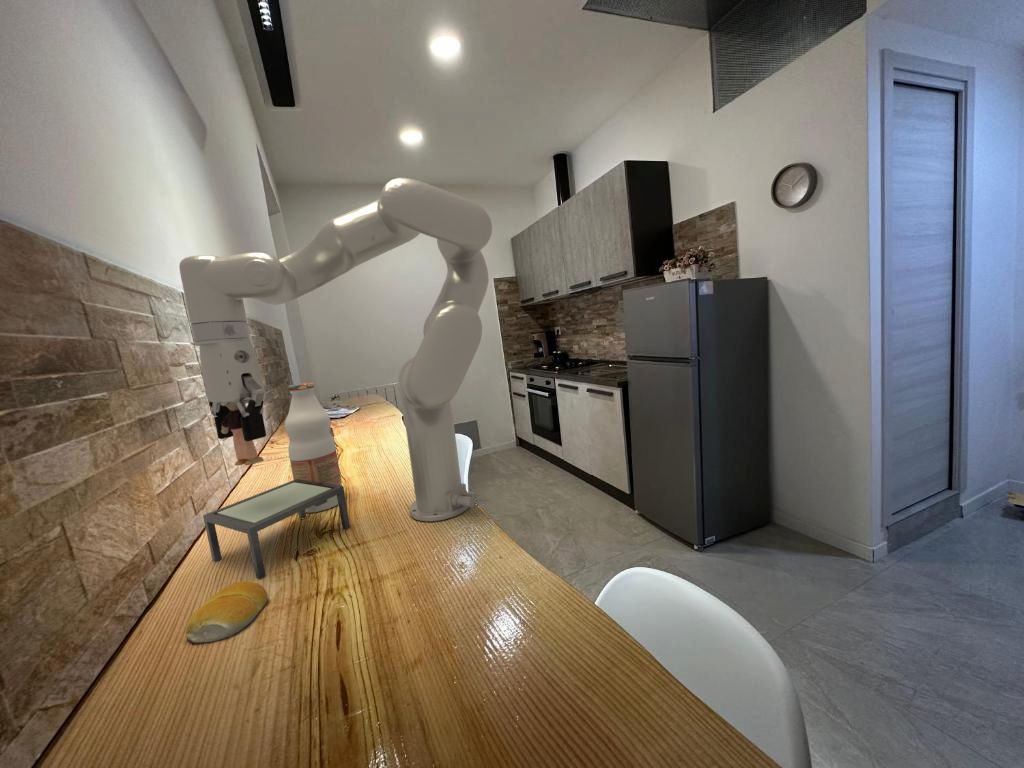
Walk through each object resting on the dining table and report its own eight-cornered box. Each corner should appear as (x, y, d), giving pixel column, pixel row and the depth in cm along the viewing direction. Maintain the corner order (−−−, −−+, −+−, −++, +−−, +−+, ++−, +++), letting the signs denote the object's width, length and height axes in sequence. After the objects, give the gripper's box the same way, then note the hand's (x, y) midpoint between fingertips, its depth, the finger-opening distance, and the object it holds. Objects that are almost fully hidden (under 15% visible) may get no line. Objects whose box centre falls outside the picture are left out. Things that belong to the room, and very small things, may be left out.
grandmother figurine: (275, 457, 68) (261, 386, 67) (258, 465, 64) (244, 390, 63) (236, 460, 69) (221, 390, 68) (217, 468, 65) (202, 394, 64)
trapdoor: (334, 503, 74) (331, 488, 74) (257, 540, 62) (254, 522, 62) (296, 496, 80) (294, 482, 80) (220, 528, 68) (216, 512, 68)
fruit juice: (293, 517, 83) (269, 389, 80) (306, 500, 92) (285, 384, 89) (339, 508, 85) (318, 383, 82) (347, 492, 94) (329, 379, 91)
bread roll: (277, 592, 57) (272, 567, 57) (243, 638, 49) (237, 609, 48) (218, 602, 57) (212, 577, 56) (172, 651, 48) (165, 621, 47)
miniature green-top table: (350, 527, 76) (343, 486, 75) (259, 579, 61) (249, 528, 60) (303, 516, 83) (296, 478, 82) (212, 560, 68) (202, 515, 67)
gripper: (275, 329, 63) (293, 433, 65) (221, 338, 71) (239, 430, 74) (223, 330, 56) (245, 447, 59) (170, 340, 65) (192, 441, 67)
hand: (242, 437), depth 66 cm, fingers closed on grandmother figurine, 7 cm apart
